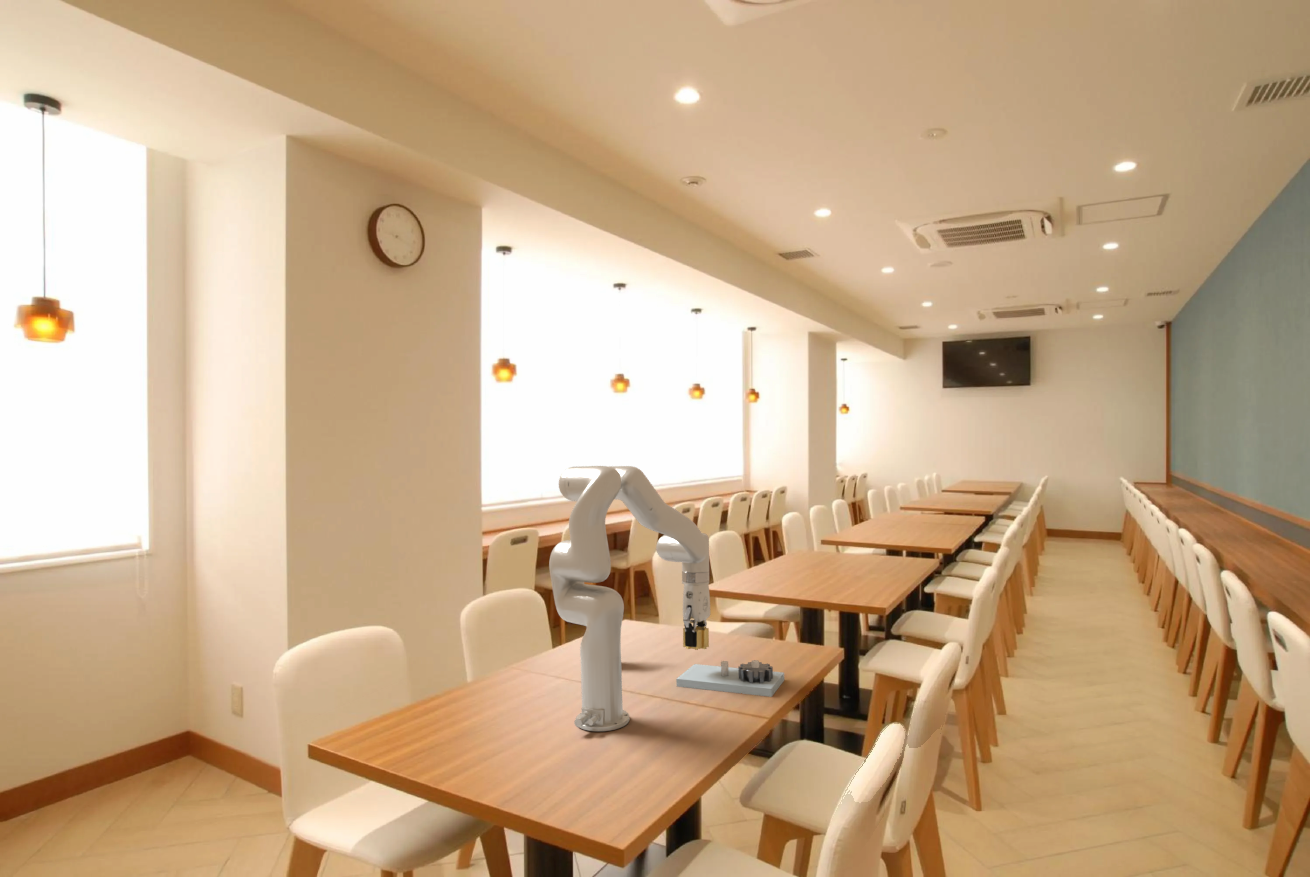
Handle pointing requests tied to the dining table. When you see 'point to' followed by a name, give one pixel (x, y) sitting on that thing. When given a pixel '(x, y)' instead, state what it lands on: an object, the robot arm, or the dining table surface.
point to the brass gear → (699, 638)
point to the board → (727, 680)
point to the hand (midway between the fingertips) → (695, 642)
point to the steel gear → (755, 673)
